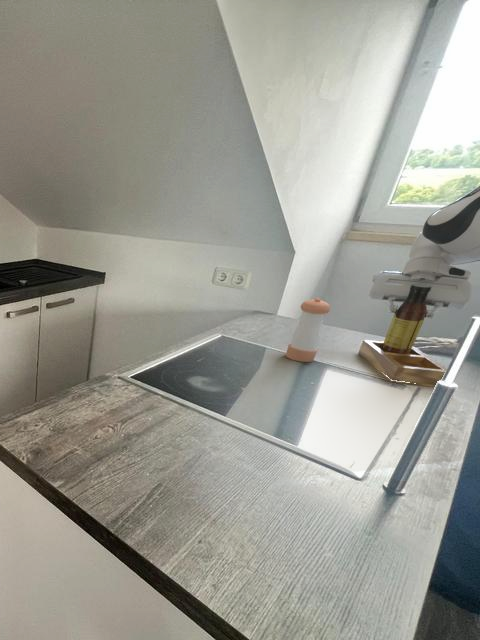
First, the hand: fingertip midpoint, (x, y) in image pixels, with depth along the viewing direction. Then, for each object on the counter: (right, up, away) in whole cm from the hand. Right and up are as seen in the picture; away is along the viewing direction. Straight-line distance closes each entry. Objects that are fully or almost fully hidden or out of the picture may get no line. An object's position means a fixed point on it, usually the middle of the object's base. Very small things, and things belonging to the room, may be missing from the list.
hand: (410, 314), depth 111 cm
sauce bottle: (+1, -10, +5) cm, 12 cm away
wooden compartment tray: (-1, -16, +2) cm, 16 cm away
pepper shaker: (-23, -12, +12) cm, 29 cm away
